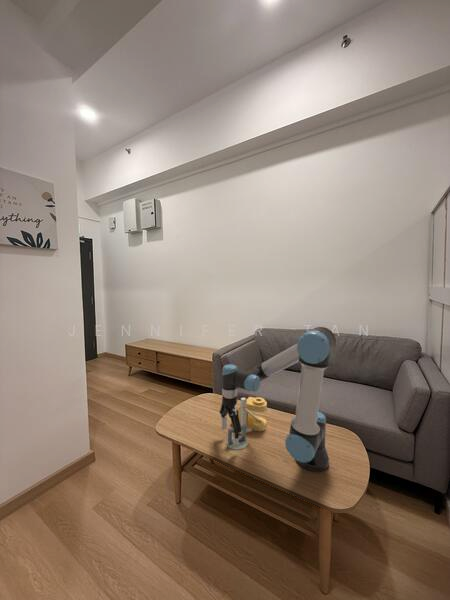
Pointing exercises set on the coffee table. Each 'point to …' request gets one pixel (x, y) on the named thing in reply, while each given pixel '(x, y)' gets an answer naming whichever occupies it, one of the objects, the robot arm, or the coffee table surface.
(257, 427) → the clamp
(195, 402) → the coffee table surface
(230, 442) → the link
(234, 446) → the coaster
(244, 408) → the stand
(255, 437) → the coffee table surface
